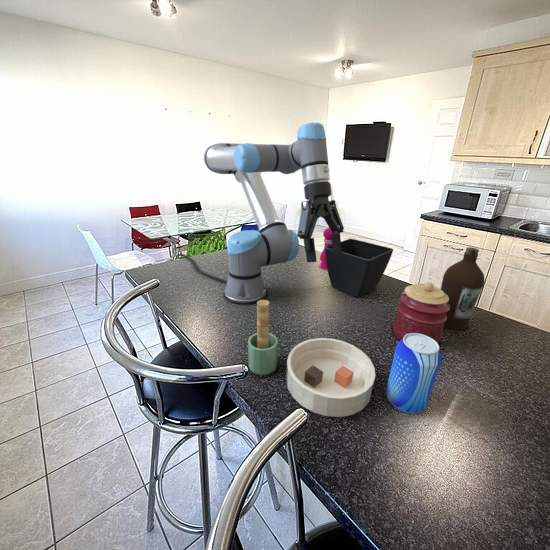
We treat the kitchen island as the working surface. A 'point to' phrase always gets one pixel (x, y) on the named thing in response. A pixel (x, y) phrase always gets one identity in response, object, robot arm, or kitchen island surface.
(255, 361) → the cup
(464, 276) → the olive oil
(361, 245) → the flower pot
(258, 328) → the stir stick
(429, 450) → the kitchen island surface
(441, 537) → the kitchen island surface
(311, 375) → the walnut block
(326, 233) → the pepper mill
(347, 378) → the terracotta block
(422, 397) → the beer can
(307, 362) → the bowl
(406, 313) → the kitchen canister
